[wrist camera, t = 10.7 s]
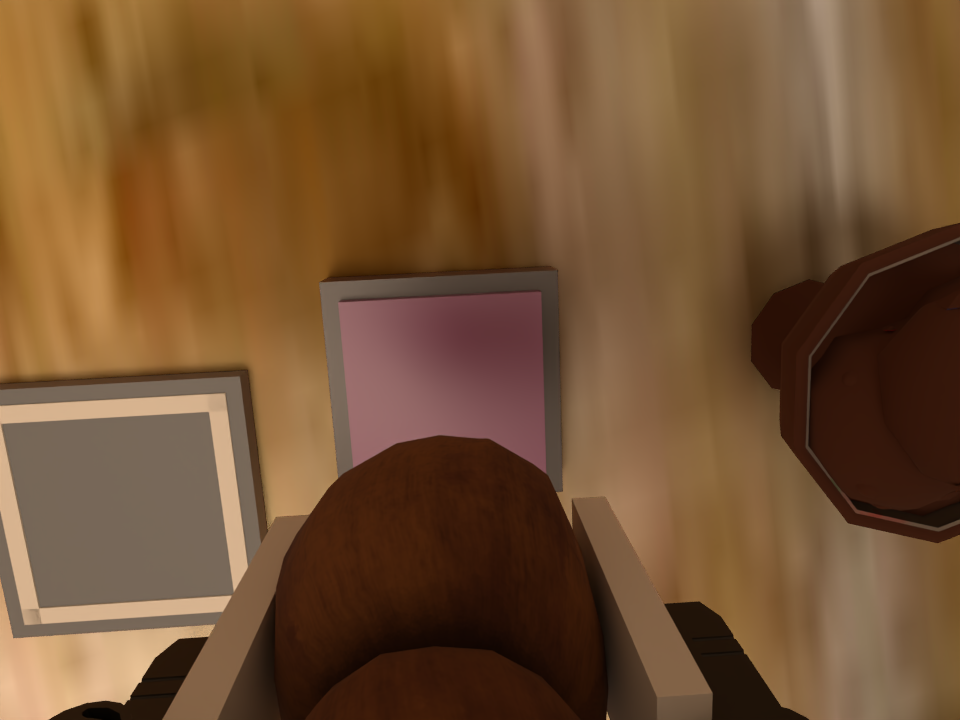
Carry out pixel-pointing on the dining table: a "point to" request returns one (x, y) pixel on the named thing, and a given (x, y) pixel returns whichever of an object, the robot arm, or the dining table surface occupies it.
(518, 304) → the ink pad
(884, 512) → the ice cream bowl
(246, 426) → the marked board
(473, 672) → the wooden figurine
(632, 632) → the robot arm
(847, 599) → the dining table surface
